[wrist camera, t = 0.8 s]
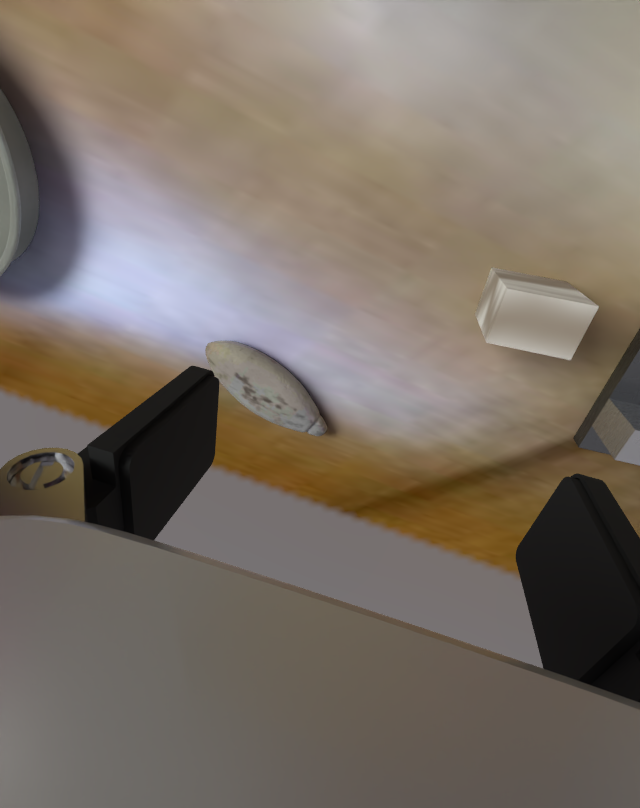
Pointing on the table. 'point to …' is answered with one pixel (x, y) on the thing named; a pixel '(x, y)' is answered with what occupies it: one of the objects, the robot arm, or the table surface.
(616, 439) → the vise
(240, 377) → the decorative stone
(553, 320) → the block
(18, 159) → the cake pan
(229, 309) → the table surface
